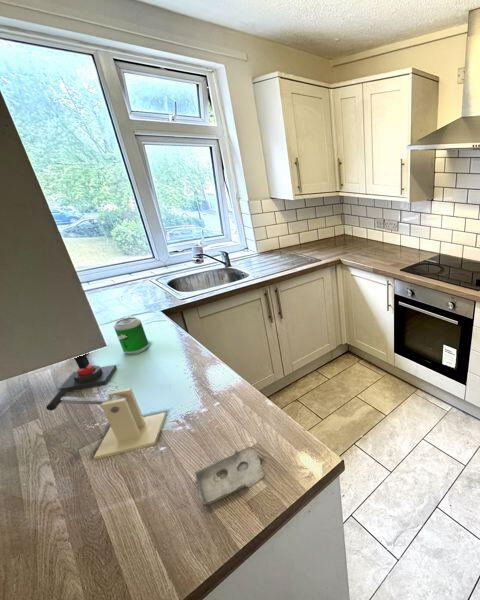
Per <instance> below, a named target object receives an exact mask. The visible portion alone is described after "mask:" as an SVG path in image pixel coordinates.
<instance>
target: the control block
mask: <svg viewBox="0 0 480 600" xmlns="http://www.w3.org/2000/svg"><path fill="white" fill-rule="evenodd" d="M92 365H93V364H92ZM93 367H94V370H95V371H93V372H92V373H90V374H87V375H83V376H80V375H79V373H78V371H77V370H76V371H73V372H72V373H71V375H70V376H68V378H67V379H66V380H65V382H64V383H63V384H62V385H61V386H60V387H59V391H60V390H67V391H68V393H70V392H71V393H72V392H76V391H80V390H81V391H82V390H86V389H91V388H92V389H93V388H97V387H102V386H103V387H104V386H107V385H108V383H109V382H110V380H111V379H112V377H113V376H114V374H115V373H116V371H117V370H118V367H117V365H116V364H112V365H106V366H102V367H101V366H100V365H93Z"/></svg>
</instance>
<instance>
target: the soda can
mask: <svg viewBox="0 0 480 600" xmlns="http://www.w3.org/2000/svg"><path fill="white" fill-rule="evenodd" d="M113 329H114V332H115V333H116V336H117V338H118V341H119V344H120V346H121V349H122V352H123V353H125V354H127V355H137V354H140V353H143V352H145V351H146V350H147V349H148V347H149V345H150V342H149V341H148V338H147V335H146V332H145V330H144V326H143V324H142V321H141V319H140V318H137V317H134V316H133V317H132V316H131V317H125V318H122V319H119V320H117V321H116V322H115V324H114V326H113Z"/></svg>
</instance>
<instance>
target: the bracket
mask: <svg viewBox="0 0 480 600" xmlns="http://www.w3.org/2000/svg"><path fill="white" fill-rule="evenodd" d="M114 395H124V396H128V402H127V401H126V398H123V399H118V400H113V401H109V402H104V403H102V404H101V405H100V406H101V409H102V411H103V413H104V416H105V418H106V420H107V422H108V423H109V428H108V430H107V432H106V434H105V435H104V438H103V439H102V441H101V443H100V444H99V446H98V448H97V449H96V452H95V454H94V456H93V459H94V460H95V461H96V460H100V459H103V458H104V459H105V458H108V457H111V456H115V455H121V454H123V453H127V452H133V451H136V450H140V449H144V448H149V447H153V446H156V445H157V442H158V439H159V436H160V434H161V431H162V429H163V425H164V422H165V420H166V416H167V412H159V413H156V414H150V415H147V416H143V414H142V411H141V408H140V406H139V404H138V402H137V399H136V397H135V394H134V391H133V389H132V387H128V388H123V389H118V390H113V391H109V392H108V394H107V396H108V399H112V398H113V396H114Z"/></svg>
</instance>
